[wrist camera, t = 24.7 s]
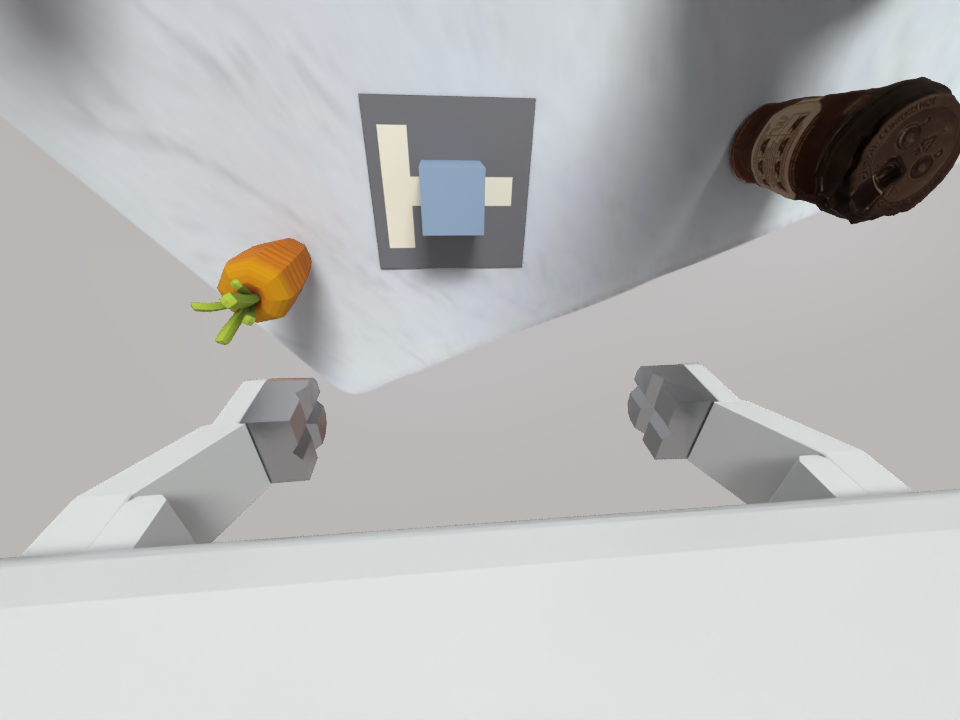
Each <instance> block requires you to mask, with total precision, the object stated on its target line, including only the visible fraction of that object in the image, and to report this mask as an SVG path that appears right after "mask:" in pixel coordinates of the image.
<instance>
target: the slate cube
mask: <svg viewBox="0 0 960 720" xmlns="http://www.w3.org/2000/svg"><path fill="white" fill-rule="evenodd" d="M485 173H486V168H485V166H484V165H483V164H482V163H481V162H480V161H476V160H421V162H420V164H419V182H420V198H421V214H422V230H423V236H444V235H484V213H485Z"/></svg>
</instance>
